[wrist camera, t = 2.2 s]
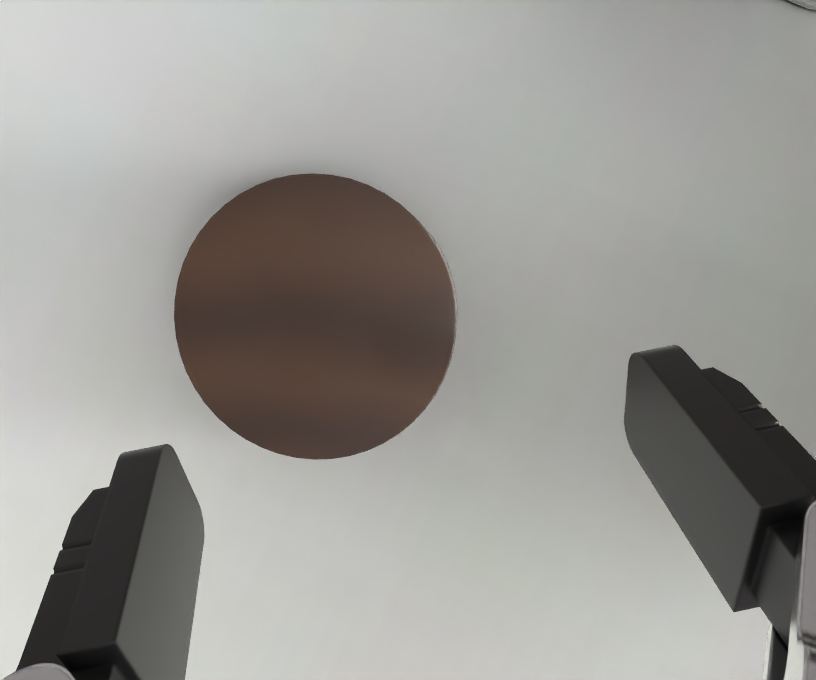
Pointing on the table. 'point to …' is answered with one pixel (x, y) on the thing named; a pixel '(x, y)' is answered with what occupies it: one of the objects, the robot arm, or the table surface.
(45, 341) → the table surface
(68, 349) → the table surface
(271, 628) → the table surface
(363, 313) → the walnut stand
